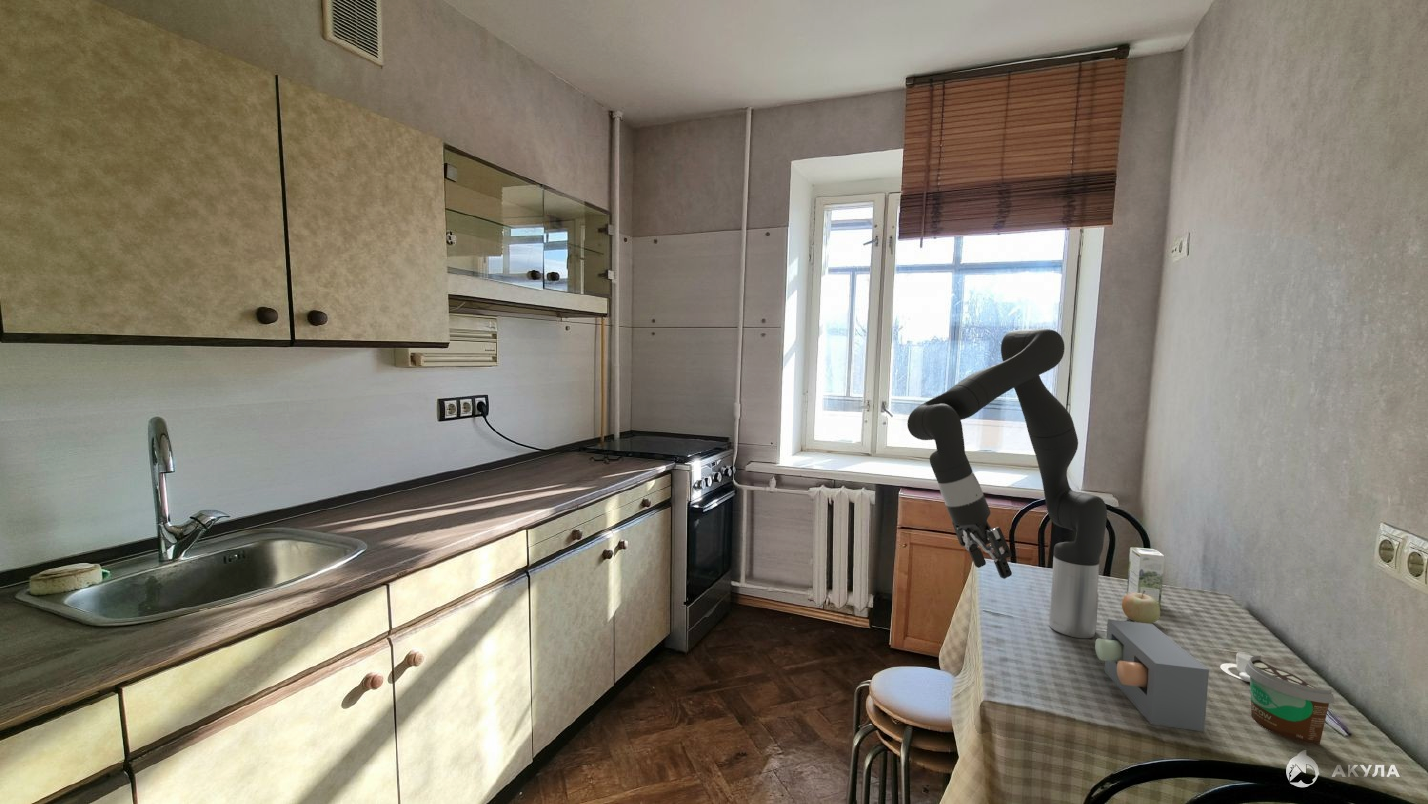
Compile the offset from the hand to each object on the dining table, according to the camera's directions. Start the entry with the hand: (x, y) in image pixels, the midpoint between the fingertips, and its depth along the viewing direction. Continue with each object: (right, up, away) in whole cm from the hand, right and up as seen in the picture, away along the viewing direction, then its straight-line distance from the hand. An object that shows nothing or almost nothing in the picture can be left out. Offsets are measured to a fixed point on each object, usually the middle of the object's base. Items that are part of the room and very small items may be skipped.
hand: (993, 571), depth 114 cm
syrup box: (+59, -20, +38) cm, 74 cm away
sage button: (+22, -17, -2) cm, 28 cm away
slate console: (+26, -22, -8) cm, 35 cm away
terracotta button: (+20, -17, -11) cm, 29 cm away
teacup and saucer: (+50, -23, +2) cm, 55 cm away
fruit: (+50, -21, +27) cm, 60 cm away
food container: (+41, -23, -15) cm, 50 cm away
